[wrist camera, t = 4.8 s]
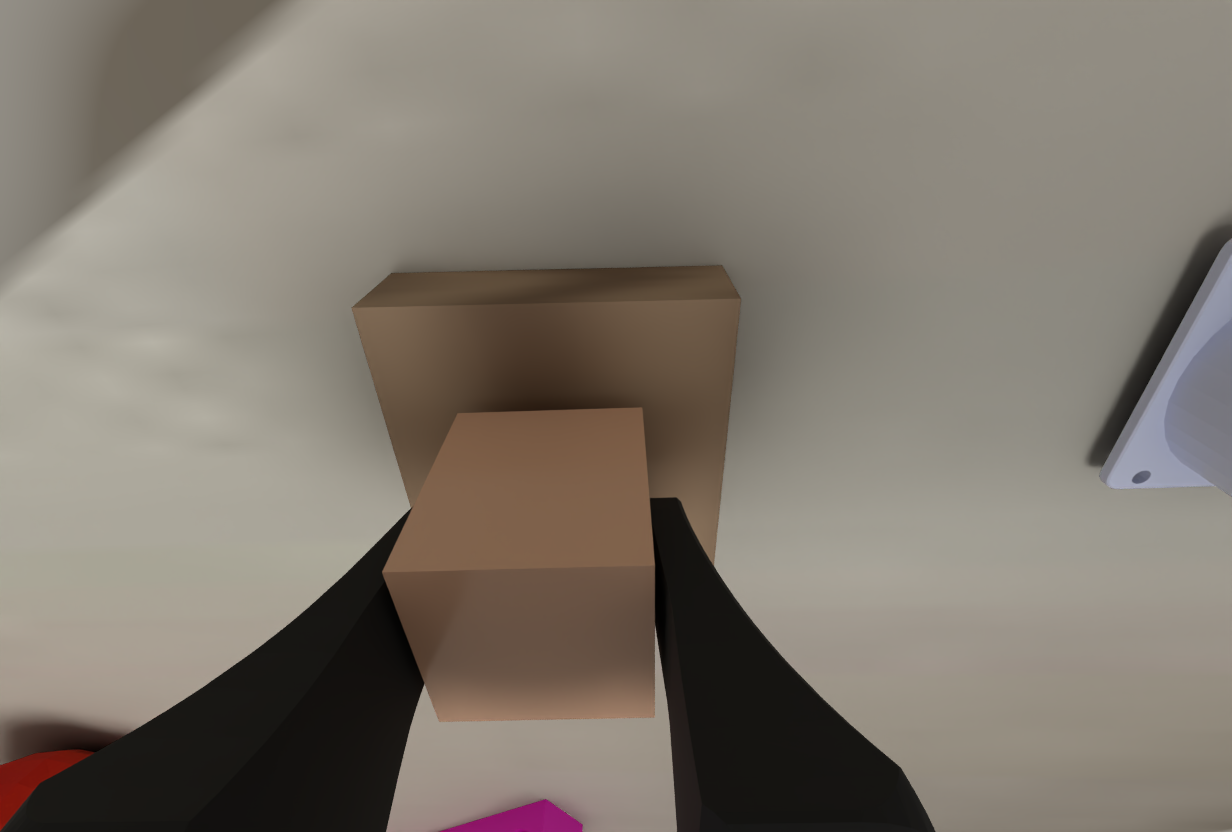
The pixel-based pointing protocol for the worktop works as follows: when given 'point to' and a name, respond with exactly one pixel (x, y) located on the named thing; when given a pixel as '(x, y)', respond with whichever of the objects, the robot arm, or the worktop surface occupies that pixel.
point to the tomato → (31, 777)
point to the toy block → (524, 820)
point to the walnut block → (562, 362)
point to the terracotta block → (532, 568)
